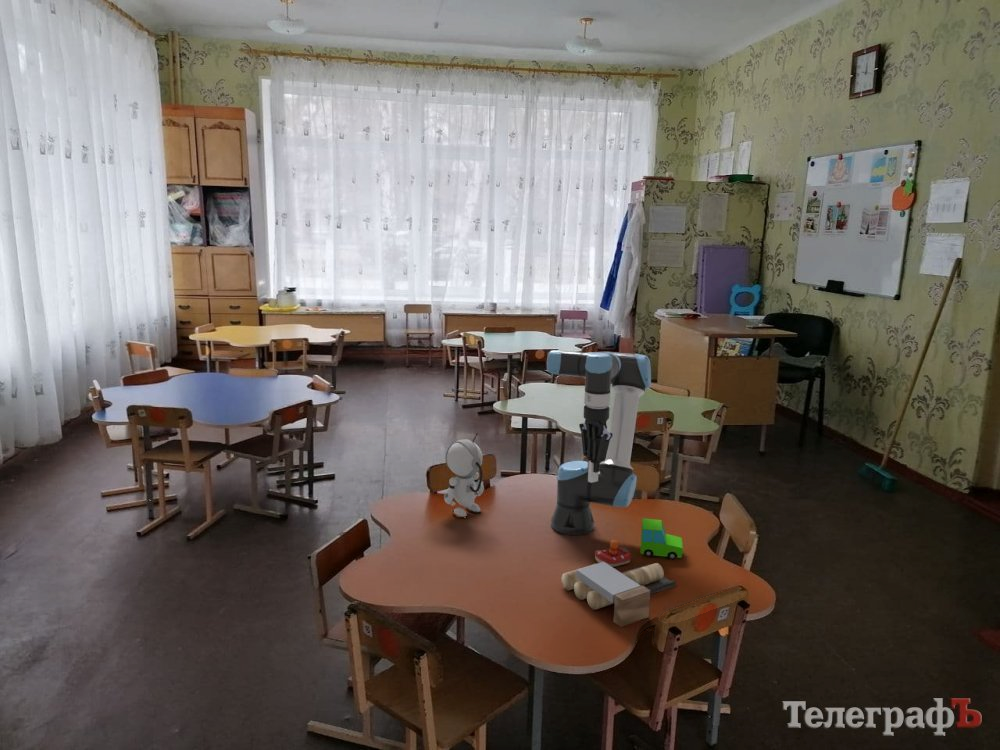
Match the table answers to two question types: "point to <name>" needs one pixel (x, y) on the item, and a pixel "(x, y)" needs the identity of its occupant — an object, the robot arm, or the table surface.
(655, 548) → the toy car
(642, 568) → the roller
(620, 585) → the slab
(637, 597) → the track
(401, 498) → the table surface
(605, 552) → the toy boat
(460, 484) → the robot
